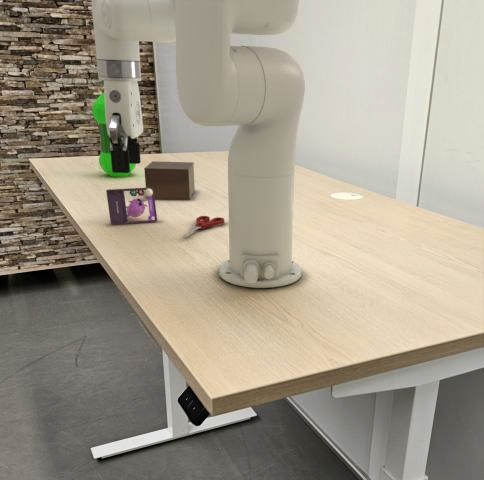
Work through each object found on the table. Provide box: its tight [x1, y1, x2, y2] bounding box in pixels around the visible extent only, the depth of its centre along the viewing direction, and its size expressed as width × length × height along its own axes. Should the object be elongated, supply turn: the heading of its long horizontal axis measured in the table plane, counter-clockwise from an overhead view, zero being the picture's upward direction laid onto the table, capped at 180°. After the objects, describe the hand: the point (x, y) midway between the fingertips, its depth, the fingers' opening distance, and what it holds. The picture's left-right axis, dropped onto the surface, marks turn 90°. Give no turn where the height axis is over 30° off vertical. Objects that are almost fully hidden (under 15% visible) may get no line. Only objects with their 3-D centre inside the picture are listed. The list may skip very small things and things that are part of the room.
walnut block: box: [143, 160, 196, 201], centre depth 137 cm, size 10×10×7 cm
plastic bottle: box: [91, 80, 137, 178], centre depth 154 cm, size 10×10×25 cm
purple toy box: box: [105, 187, 158, 226], centre depth 115 cm, size 7×5×9 cm
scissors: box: [183, 215, 225, 237], centre depth 111 cm, size 5×14×1 cm, turn 164°
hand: (127, 167), depth 112 cm, fingers open, 9 cm apart
